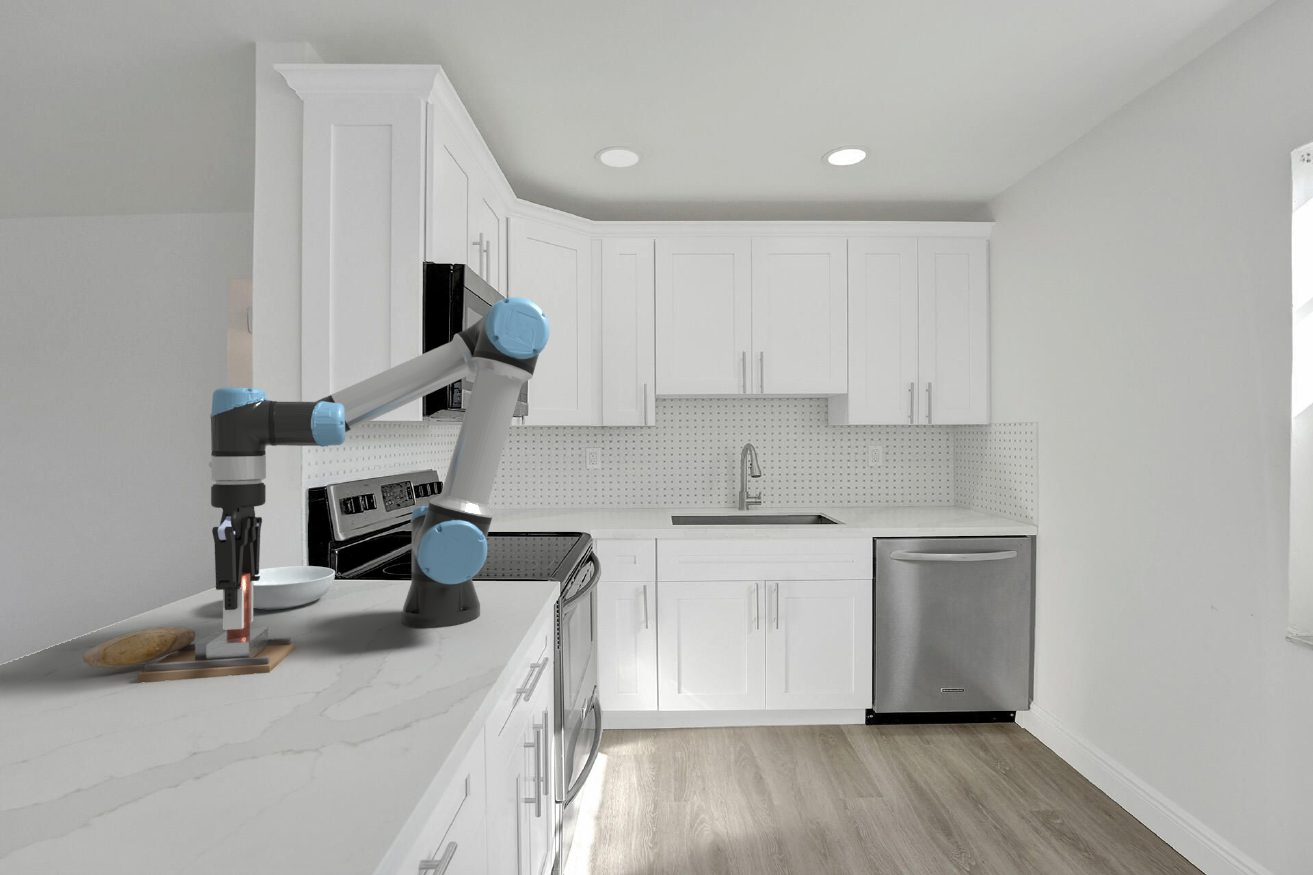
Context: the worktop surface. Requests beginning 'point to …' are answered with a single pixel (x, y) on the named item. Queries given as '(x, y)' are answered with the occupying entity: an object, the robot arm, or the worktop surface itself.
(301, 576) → the serving bowl
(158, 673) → the railed wooden base plate
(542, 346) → the robot arm
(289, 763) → the worktop surface
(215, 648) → the copper peg on base
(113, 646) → the tan elongated oval piece
